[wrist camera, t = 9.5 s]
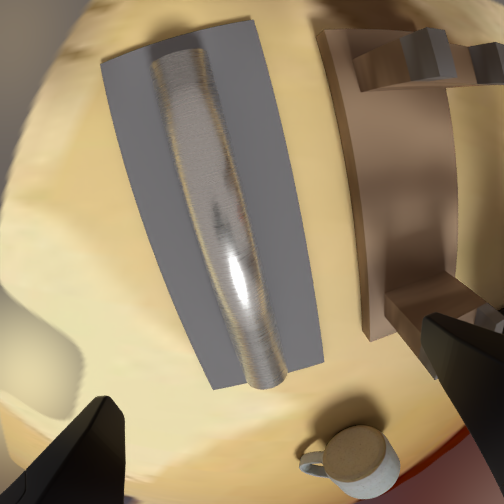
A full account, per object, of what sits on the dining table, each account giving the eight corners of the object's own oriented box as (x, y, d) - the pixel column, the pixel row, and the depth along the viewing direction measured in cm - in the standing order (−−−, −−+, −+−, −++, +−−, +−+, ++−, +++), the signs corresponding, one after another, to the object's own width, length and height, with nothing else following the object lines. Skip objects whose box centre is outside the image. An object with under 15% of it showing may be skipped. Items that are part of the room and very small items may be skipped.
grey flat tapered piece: (322, 358, 23) (324, 362, 22) (212, 385, 23) (213, 390, 22) (252, 22, 14) (253, 19, 13) (103, 65, 13) (100, 64, 13)
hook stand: (441, 299, 22) (502, 356, 14) (362, 330, 22) (412, 408, 14) (419, 38, 14) (506, 13, 6) (315, 37, 14) (384, -21, 6)
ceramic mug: (372, 409, 27) (399, 465, 19) (387, 434, 30) (409, 481, 22) (284, 450, 28) (296, 508, 21) (312, 470, 31) (325, 517, 24)
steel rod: (283, 354, 21) (291, 383, 19) (244, 364, 21) (247, 393, 19) (209, 59, 14) (205, 43, 11) (156, 74, 14) (142, 62, 11)
